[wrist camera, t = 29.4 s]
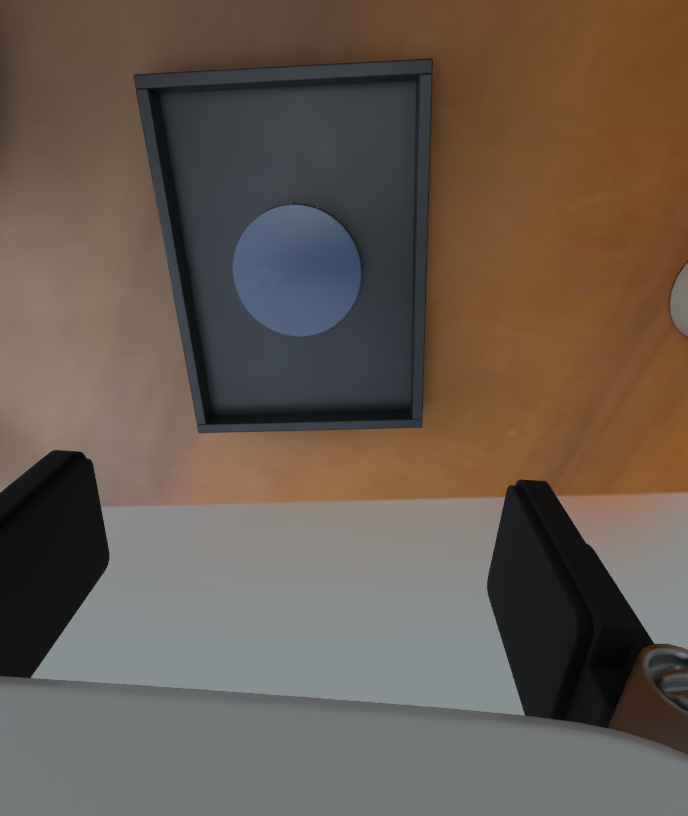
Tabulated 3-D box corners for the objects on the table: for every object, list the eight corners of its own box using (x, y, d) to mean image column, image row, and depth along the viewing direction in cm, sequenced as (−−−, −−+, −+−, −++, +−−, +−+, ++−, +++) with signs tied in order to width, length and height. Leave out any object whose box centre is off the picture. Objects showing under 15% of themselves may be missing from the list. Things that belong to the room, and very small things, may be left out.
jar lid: (242, 193, 26) (235, 193, 25) (371, 213, 27) (371, 215, 25) (235, 320, 29) (229, 327, 28) (351, 337, 30) (351, 345, 28)
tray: (417, 412, 32) (422, 427, 30) (208, 417, 33) (198, 433, 31) (426, 69, 25) (432, 57, 23) (151, 83, 25) (132, 74, 23)
